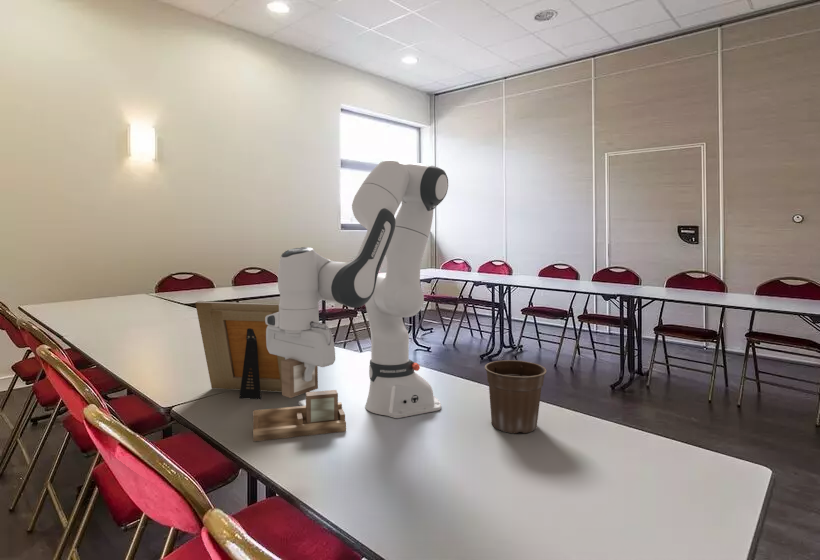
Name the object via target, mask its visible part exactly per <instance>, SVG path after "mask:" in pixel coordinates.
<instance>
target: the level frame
mask: <svg viewBox="0 0 820 560" xmlns="http://www.w3.org/2000/svg"><path fill="white" fill-rule="evenodd" d="M338 397H339V393H338V391H337V389H331V390H330V389H329V390H317V391H316V390H315V391H310V392H307V393H305V400H306V424H310V423H320V422H329V421H338V403H339V398H338Z"/></svg>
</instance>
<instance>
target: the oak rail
mask: <svg viewBox="0 0 820 560" xmlns="http://www.w3.org/2000/svg"><path fill="white" fill-rule="evenodd" d="M252 413H253V416H252V417H253V421H252V422H253V423H252V425H253V429H252V431H253V434H252V435H253V437H252V438H253V439H252V441H253V442H259V441H260V442H261V441H269V440H280V439H289V438H296V437H297V438H298V437H305V436H306V437H307V436H308V437H309V436H316V435H317V436H318V435H323V434H324V435H325V434H333V433H342V432H347V421H346V414H345V411H344V409H343V404H342V402H339V401H338V421H329V422H320V423H310V424H306V406H300V405H297V406H285V407H277V408H274V407H273V408H264V409H254V410H253V411H252Z"/></svg>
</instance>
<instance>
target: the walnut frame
mask: <svg viewBox="0 0 820 560" xmlns="http://www.w3.org/2000/svg"><path fill="white" fill-rule="evenodd" d="M305 370H306V367H305V366H304V362H300V361H298V360H294V359H290V358H289V359H285V360H282V361H281V374H282V392H281V395H282V396H283V397H286V398H289V399H292V398H294V397H297V396H300V395H304V394H306V393H307V392H309V391H310V392H313V391H316V390H318V389H319V384H318V383H319V380H318V379H319V378H318V377H319V373H318V370H319V366H315V368H314V370H313V372H312V380H311V381H308V382H307V381H303V380H302V373H304V372H305Z"/></svg>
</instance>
